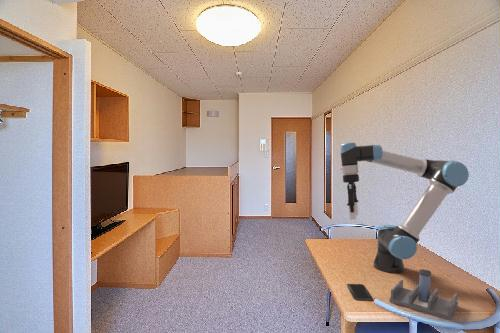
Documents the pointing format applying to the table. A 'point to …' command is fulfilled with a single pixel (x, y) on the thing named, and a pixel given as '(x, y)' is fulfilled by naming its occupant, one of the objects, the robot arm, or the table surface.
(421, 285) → the grey cylinder
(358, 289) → the phone
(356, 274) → the table surface
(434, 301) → the rack
